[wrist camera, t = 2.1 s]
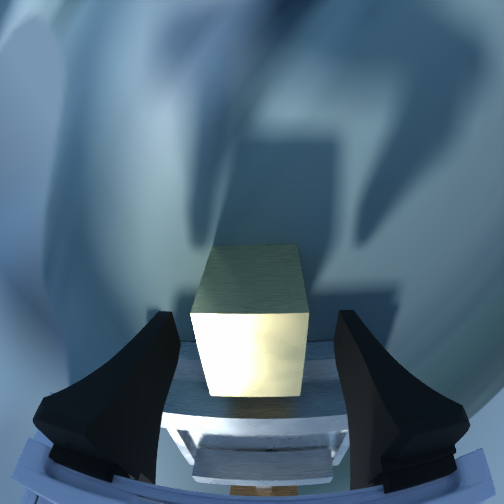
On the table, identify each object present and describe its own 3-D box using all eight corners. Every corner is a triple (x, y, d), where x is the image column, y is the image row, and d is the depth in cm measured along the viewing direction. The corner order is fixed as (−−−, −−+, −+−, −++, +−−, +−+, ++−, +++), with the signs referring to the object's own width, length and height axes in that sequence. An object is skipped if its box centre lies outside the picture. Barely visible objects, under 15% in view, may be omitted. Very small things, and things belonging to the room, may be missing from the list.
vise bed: (193, 443, 25) (186, 482, 21) (145, 339, 18) (122, 397, 14) (335, 444, 24) (340, 483, 20) (375, 337, 17) (396, 398, 13)
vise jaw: (212, 475, 27) (209, 497, 24) (196, 448, 22) (192, 475, 20) (317, 476, 26) (318, 498, 23) (330, 448, 22) (333, 476, 19)
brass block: (223, 323, 17) (210, 395, 12) (212, 245, 14) (190, 313, 10) (293, 322, 16) (299, 395, 12) (296, 243, 14) (309, 312, 10)
